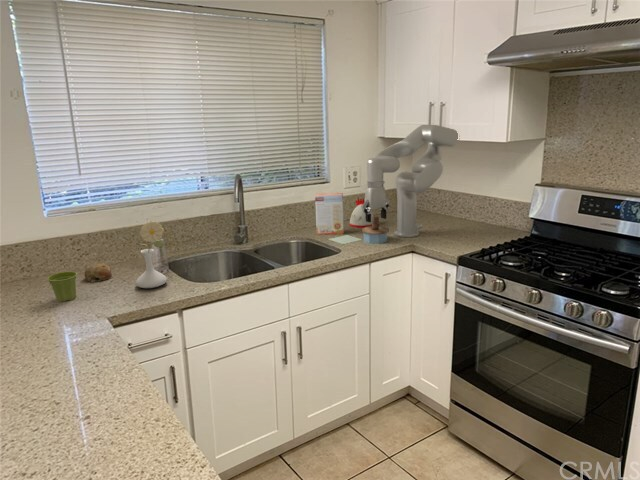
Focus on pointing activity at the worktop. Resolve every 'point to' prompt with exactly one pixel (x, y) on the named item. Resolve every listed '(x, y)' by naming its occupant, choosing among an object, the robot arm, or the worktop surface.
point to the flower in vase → (151, 276)
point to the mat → (345, 239)
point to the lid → (375, 227)
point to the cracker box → (329, 213)
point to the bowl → (375, 238)
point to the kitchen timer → (360, 216)
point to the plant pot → (63, 285)
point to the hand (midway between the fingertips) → (376, 220)
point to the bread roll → (97, 272)
